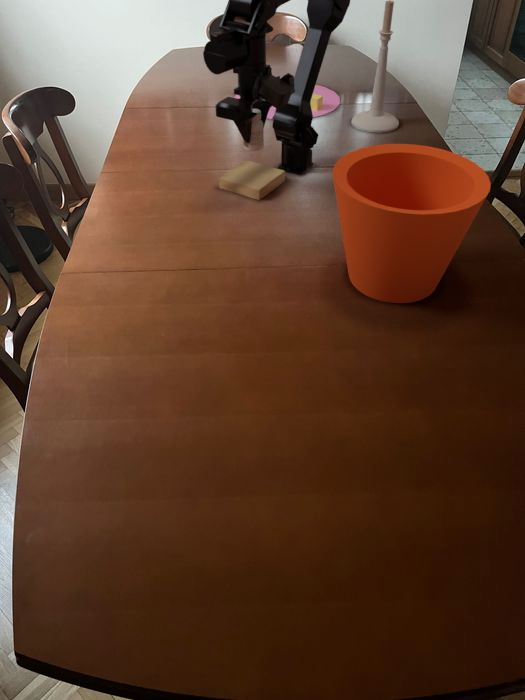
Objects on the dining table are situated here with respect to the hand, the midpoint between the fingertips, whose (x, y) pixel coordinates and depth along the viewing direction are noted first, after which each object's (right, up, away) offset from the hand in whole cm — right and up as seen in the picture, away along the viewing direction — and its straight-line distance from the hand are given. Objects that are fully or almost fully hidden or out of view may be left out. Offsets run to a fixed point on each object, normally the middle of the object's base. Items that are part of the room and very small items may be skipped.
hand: (253, 138), depth 126 cm
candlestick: (+33, +17, +36) cm, 52 cm away
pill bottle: (0, -2, +2) cm, 2 cm away
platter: (+9, +29, +50) cm, 59 cm away
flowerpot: (+26, -32, -18) cm, 45 cm away
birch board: (0, -7, +10) cm, 12 cm away
